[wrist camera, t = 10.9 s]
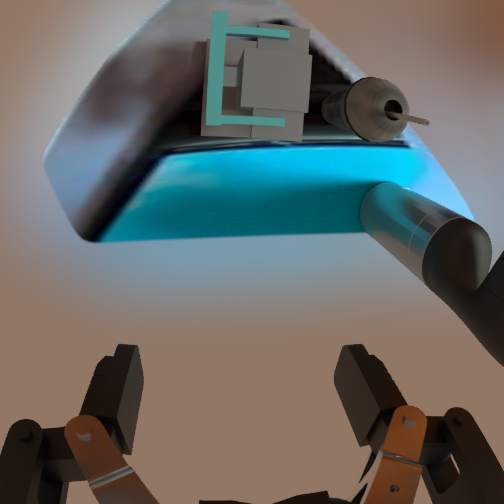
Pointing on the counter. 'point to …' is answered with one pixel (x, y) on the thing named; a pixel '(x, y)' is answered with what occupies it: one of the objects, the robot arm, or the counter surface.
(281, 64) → the stand
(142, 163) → the counter surface
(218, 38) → the teal c-shaped bracket
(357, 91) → the beverage cup
